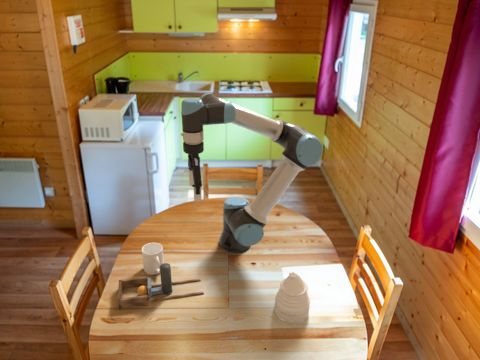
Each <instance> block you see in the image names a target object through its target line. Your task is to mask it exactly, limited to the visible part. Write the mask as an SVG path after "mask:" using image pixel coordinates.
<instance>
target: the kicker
mask: <svg viewBox="0 0 480 360" xmlns="http://www.w3.org/2000/svg"><path fill="white" fill-rule="evenodd" d="M159 274H160V284H161V286H160V287H153V288H151V285H152V279H151V277H149V278H147V279H148V286H147V288H148V293H147V295H148V298H153V296H155V295H160V294H163V295H170V294H172V292H173V285H172V282H173V281H172V269H171V264H170V263H167V262H164V263H163V264H161V265H160V273H159Z"/></svg>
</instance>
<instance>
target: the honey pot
mask: <svg viewBox="0 0 480 360" xmlns="http://www.w3.org/2000/svg"><path fill="white" fill-rule="evenodd" d="M308 290H309V286H308V284H307V283H306V281H305V280H303V279H302V277H301V276H300V275H299V274H297V273H296V272H294V271H293V272H291V271H290V273H289V275H288V276H287V277H286V278H284V279H283V280H281V282H280V285H279V289H278V291H277V293H276V295H275V297H274V307H273V308H274V309H273V311H274V314H275V313H276V314H275V315H276V317H278V318H279V320H281V319H282V321H283V320H284V321H283V322H285V321H286V322H285V323H288V322H290V323H289V324H299V323H302V322H304V321H305V320H306V319H307V318H308V316H309V313H310V307H311V306H310V305H311V304H310V303H311V301H310V297H309V293H308ZM298 322H299V323H298Z"/></svg>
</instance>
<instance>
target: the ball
mask: <svg viewBox="0 0 480 360" xmlns="http://www.w3.org/2000/svg"><path fill="white" fill-rule="evenodd" d="M137 295H138V296H144V295H148V286H140V287H137Z"/></svg>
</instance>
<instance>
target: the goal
mask: <svg viewBox="0 0 480 360" xmlns="http://www.w3.org/2000/svg"><path fill="white" fill-rule="evenodd" d="M147 278H148V276H139V277H133V278H132V277H131V278H125V279H119V280H118V287H117V288H118V290H117V306H118V310H123V309H130V308H136V307H143V306H144V307H145V306H149V305H150V302H149V299H150V297H149V295H148V294H146V295H144V296H140V295H138V296H131V297H124V298H123V290H129V289H134V288H139V287H140V286H146V287H148V279H147Z"/></svg>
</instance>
